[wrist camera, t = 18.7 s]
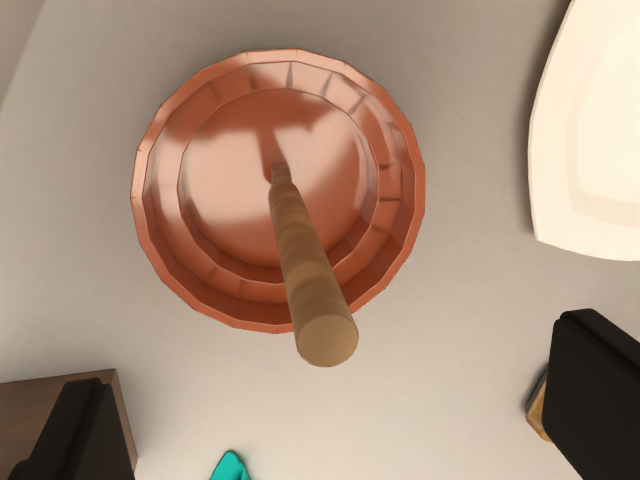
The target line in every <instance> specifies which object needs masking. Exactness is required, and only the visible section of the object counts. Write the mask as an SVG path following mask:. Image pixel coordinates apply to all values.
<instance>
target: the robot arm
mask: <svg viewBox="0 0 640 480" xmlns="http://www.w3.org/2000/svg"><path fill="white" fill-rule="evenodd" d="M541 421H542V425H543V429H544V431H545V433H546V434H547V436H548V437H549V438H550V439H551V441H552V442H553V443H554V444H555V446H556V447H557V448H558V449H559V450H560V452H561V453H562V454H563V455H564V457H565V458H566V459H567V460H568V461H569V463H570V464H571V465H572V466H573V468H574V469H575V470H576V471H577V473H578V474H579V475H580V476H581V477H582V479H583V480H640V343H639V342H638V341H637V340H635V339H634V338H632V337H631V336H630V335H628V334H627V333H626V332H624V331H623V330H621V329H620V328H619V327H617V326H616V325H615V324H613V323H612V322H610V321H609V320H608V319H606V318H605V317H604V316H602V315H601V314H599V313H598V312H597V311H595V310H593V309H589V308H587V309H580V310H573V311H566V312H564V313H562V314H561V316H560V319H558V320H556V321H555V323H554V326H553V333H552V341H551V348H550V356H549V363H548V371H547V378H546V386H545V393H544V401H543V408H542V416H541ZM7 480H135V477H134V473H133V469H132V465H131V461H130V457H129V453H128V449H127V445H126V441H125V437H124V433H123V429H122V424H121V420H120V416H119V412H118V408H117V404H116V400H115V396H114V392H113V388H112V386H111V384H109V383H107V384H102V382H101V380H100V378H98V377H95V378H88V379H81V380H74V381H68V382H66V383H65V384H64V386H63V388H62V390H61V392H60V394H59V396H58V398H57V400H56V403H55V405H54V407H53V409H52V411H51V413H50V415H49V417H48V419H47V421H46V423H45V425H44V428H43V430H42V432H41V434H40V436H39V438H38V440H37V442H36V444H35V446H34V448H33V450H32V453H31V455H30V457H29V459H25V460H21V461H19V462H18V463H17V464H16V465H15V467H14V468H13V470H12V471H11V473H10V475H9V477H8V479H7Z"/></svg>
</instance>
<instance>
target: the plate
mask: <svg viewBox="0 0 640 480" xmlns="http://www.w3.org/2000/svg"><path fill="white" fill-rule="evenodd" d="M528 184H529V194H530V205H531V214H532V221H533V228H534V234H535V239H536V240H537V241H540V242H543V243H546V244H549V245H553V246H556V247H559V248H562V249H566V250H569V251H573V252H576V253H580V254H583V255H587V256H592V257H598V258H604V259H609V260H626V261H638V260H640V0H571V2H570V5H569V7H568V9H567V11H566V14H565V16H564V18H563V21H562V23H561V26H560V28H559V31H558V33H557V36H556V38H555V40H554V43H553V45H552V48H551V50H550V53H549V56H548V59H547V62H546V65H545V68H544V70H543V73H542V76H541V79H540V82H539V85H538V89H537V93H536V97H535V101H534V105H533V109H532V113H531V117H530V124H529V138H528Z"/></svg>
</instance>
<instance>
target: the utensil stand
mask: <svg viewBox="0 0 640 480" xmlns="http://www.w3.org/2000/svg"><path fill="white" fill-rule="evenodd" d="M95 377H98V378H100V380H101V382H102V384H107V383H109V384H111V386H112V388H113V392H114V396H115V400H116V404H117V408H118V412H119V416H120V420H121V424H122V429H123V433H124V437H125V441H126V445H127V449H128V453H129V457H130V461H131V465H132V469H133V473H134V472H135V467H136V463H137V456H136V452H135V448H134V444H133V439H132V435H131V431H130V427H129V423H128V419H127V414H126V410H125V406H124V402H123V398H122V394H121V389H120V385H119V381H118V377H117V373H116V369H111V370H104V371H96V372H88V373H81V374H73V375H65V376H58V377H50V378H42V379H35V380H27V381H19V382H12V383H4V384H0V480H7V479H8V477H9V475H10V473H11V471H12V470H13V468H14V467H15V465H16V464H17V463H18V462H19V461H21V460H25V459H29V457H30V455H31V453H32V450H33V448H34V446H35V444H36V442H37V440H38V438H39V436H40V434H41V432H42V430H43V428H44V425H45V423H46V421H47V419H48V417H49V415H50V413H51V411H52V409H53V407H54V405H55V403H56V400H57V398H58V396H59V394H60V392H61V390H62V388H63V386H64V384H65V383H66V382H68V381H74V380H81V379H88V378H95Z"/></svg>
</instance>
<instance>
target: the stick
mask: <svg viewBox="0 0 640 480" xmlns="http://www.w3.org/2000/svg"><path fill="white" fill-rule="evenodd" d="M270 169H271V180H272V187H271V189H270V191H269V193H268V202H269V207H270V212H271V217H272V222H273V228H274V233H275V238H276V243H277V248H278V253H279V258H280V264H281V269H282V274H283V279H284V284H285V289H286V295H287V300H288V305H289V310H290V315H291V320H292V325H293V331H294V336H295V341H296V346H297V350H298V352H299V354H300V355H301V357H302V358H303V359H304V360H305V361H307V362H308V363H310V364H312V365H314V366H318V367H331V366H335V365H338V364H341V363H342V362H344V361H345V360H347V359H348V358H349V357H350V356H351V355H352V354H353V352H354V351H355V349H356V347H357V344H358V338H359V335H358V330H357V327H356V325H355V322H354V320H353V317H352V315H351V313H350V310H349V308H348V306H347V303H346V301H345V299H344V296H343V294H342V291H341V289H340V287H339V284H338V282H337V280H336V277H335V275H334V272H333V270H332V268H331V265H330V263H329V261H328V258H327V256H326V253H325V251H324V249H323V246H322V244H321V242H320V239H319V237H318V234H317V232H316V230H315V227H314V225H313V223H312V220H311V218H310V215H309V213H308V211H307V208H306V206H305V204H304V201H303V199H302V196H301V194H300V192H299V190H298V188H297V187H296V186H295V185H294V184H293V183H292V178H291V174H290V171H289V169H288V166H287V164H276V165H270Z"/></svg>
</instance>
